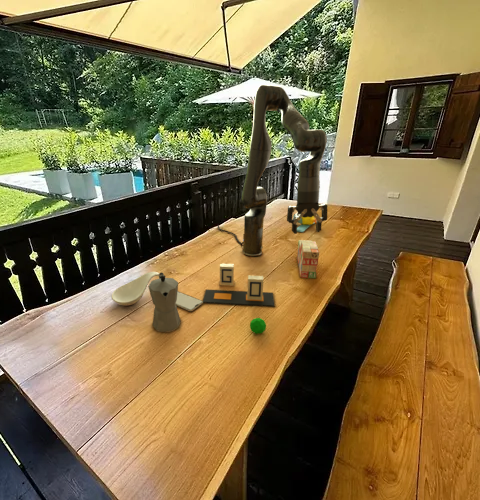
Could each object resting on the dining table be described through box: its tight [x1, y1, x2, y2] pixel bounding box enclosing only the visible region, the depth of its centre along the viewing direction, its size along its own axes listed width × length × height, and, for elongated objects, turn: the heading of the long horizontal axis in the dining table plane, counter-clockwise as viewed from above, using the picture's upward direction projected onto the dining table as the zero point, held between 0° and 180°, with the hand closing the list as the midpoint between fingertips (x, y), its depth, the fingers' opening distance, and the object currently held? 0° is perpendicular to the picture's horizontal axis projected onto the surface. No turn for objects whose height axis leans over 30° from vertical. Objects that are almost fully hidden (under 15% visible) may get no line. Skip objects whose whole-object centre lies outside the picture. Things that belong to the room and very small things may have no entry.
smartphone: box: [175, 290, 204, 312], centre depth 112 cm, size 7×1×15 cm
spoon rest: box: [111, 271, 160, 306], centre depth 116 cm, size 24×12×7 cm, turn 140°
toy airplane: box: [292, 213, 317, 233], centre depth 190 cm, size 28×9×15 cm
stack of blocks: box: [296, 239, 320, 279], centre depth 134 cm, size 21×6×12 cm, turn 169°
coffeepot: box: [147, 272, 181, 333], centre depth 97 cm, size 15×9×18 cm, turn 13°
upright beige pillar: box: [246, 274, 264, 300], centre depth 110 cm, size 3×6×8 cm, turn 83°
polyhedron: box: [249, 317, 267, 335], centre depth 94 cm, size 5×5×5 cm
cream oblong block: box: [219, 263, 235, 287], centre depth 122 cm, size 3×6×8 cm, turn 83°
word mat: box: [202, 289, 276, 308], centre depth 113 cm, size 26×9×1 cm, turn 83°
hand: (306, 232), depth 113 cm, fingers open, 8 cm apart
